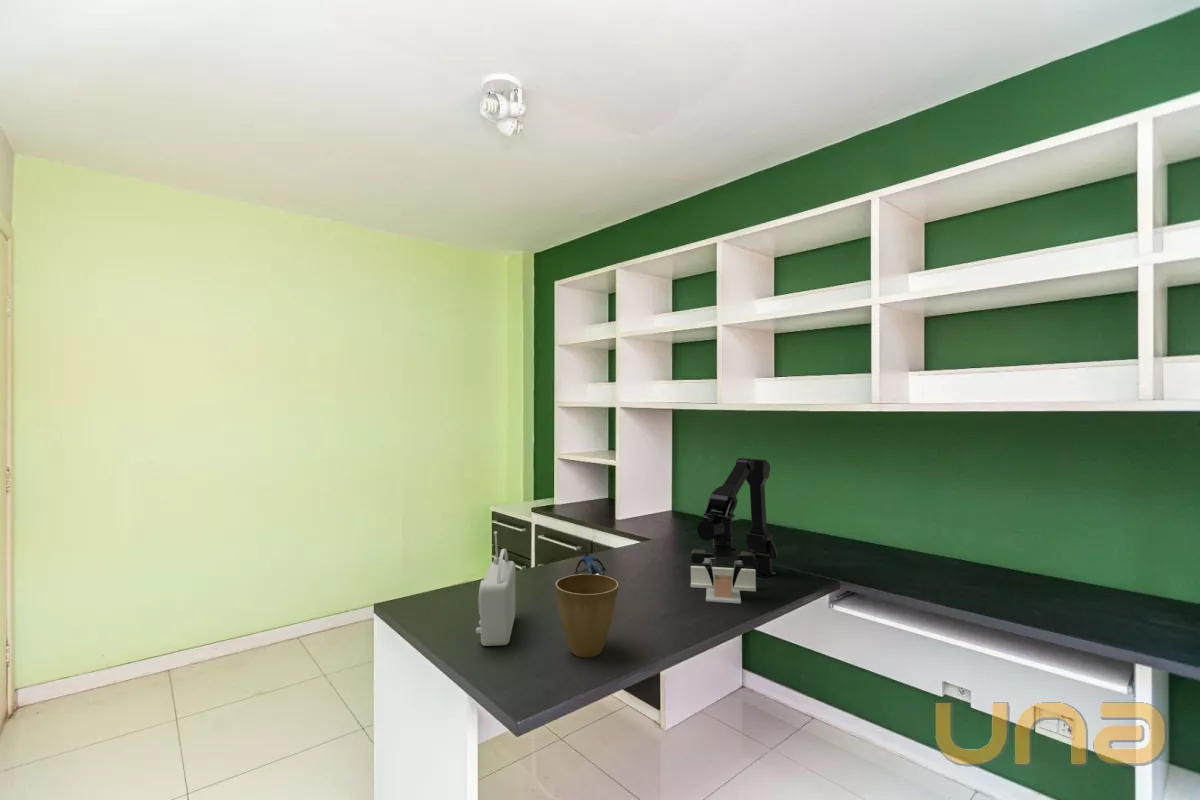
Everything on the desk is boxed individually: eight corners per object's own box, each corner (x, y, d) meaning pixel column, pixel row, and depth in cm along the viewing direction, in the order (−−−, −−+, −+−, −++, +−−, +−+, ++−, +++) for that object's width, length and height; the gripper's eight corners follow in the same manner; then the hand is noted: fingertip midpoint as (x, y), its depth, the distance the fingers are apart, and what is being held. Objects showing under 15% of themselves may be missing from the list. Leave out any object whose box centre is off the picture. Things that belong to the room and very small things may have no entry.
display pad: (706, 589, 170) (706, 587, 170) (739, 591, 168) (739, 590, 168) (705, 601, 160) (705, 599, 160) (740, 603, 158) (740, 601, 158)
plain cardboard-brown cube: (714, 590, 168) (714, 574, 168) (731, 591, 166) (731, 575, 166) (714, 596, 162) (714, 579, 163) (731, 597, 161) (731, 581, 161)
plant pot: (578, 672, 118) (578, 598, 119) (544, 647, 131) (543, 580, 131) (631, 653, 127) (631, 584, 127) (594, 632, 139) (594, 569, 139)
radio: (486, 615, 150) (485, 525, 151) (516, 614, 151) (515, 524, 151) (473, 651, 129) (472, 546, 129) (508, 650, 129) (508, 545, 129)
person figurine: (613, 586, 180) (600, 563, 197) (614, 573, 179) (600, 551, 197) (581, 588, 177) (570, 565, 195) (581, 575, 177) (571, 553, 194)
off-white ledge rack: (691, 583, 177) (691, 564, 177) (755, 587, 172) (754, 568, 172) (690, 587, 173) (690, 568, 173) (756, 591, 168) (755, 572, 169)
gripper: (690, 539, 159) (690, 592, 158) (756, 542, 155) (757, 597, 155) (691, 530, 169) (692, 580, 169) (753, 533, 165) (754, 584, 165)
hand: (723, 585), depth 164 cm, fingers open, 6 cm apart
